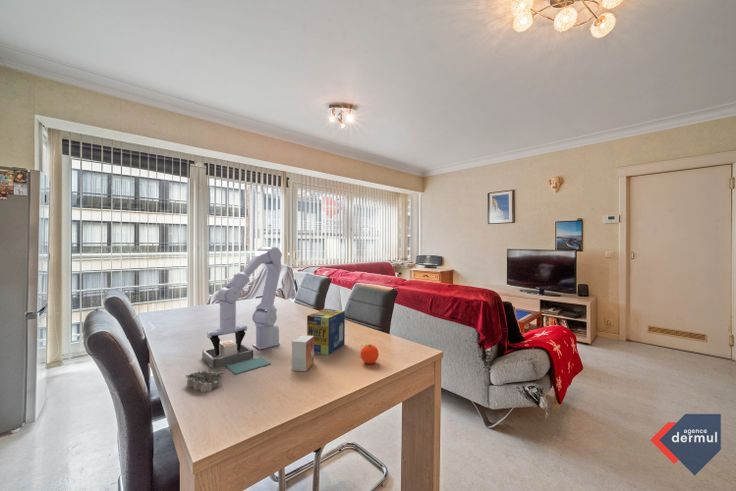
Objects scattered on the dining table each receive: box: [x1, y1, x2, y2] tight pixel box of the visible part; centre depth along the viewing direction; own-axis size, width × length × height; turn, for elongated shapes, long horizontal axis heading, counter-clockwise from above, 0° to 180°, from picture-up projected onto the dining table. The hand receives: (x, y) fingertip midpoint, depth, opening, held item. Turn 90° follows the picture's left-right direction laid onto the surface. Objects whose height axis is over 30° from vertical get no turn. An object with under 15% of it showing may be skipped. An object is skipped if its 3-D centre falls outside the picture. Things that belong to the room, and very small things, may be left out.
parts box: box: [218, 339, 238, 358], centre depth 117 cm, size 4×7×6 cm, turn 44°
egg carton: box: [184, 370, 225, 393], centre depth 94 cm, size 11×8×4 cm
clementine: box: [360, 343, 379, 365], centre depth 113 cm, size 8×7×7 cm
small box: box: [291, 334, 315, 372], centre depth 109 cm, size 8×6×10 cm
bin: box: [201, 342, 254, 370], centre depth 117 cm, size 15×14×3 cm
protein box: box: [306, 308, 346, 357], centre depth 128 cm, size 10×15×16 cm
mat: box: [225, 356, 271, 376], centre depth 110 cm, size 13×9×1 cm
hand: (227, 352), depth 117 cm, fingers open, 7 cm apart
